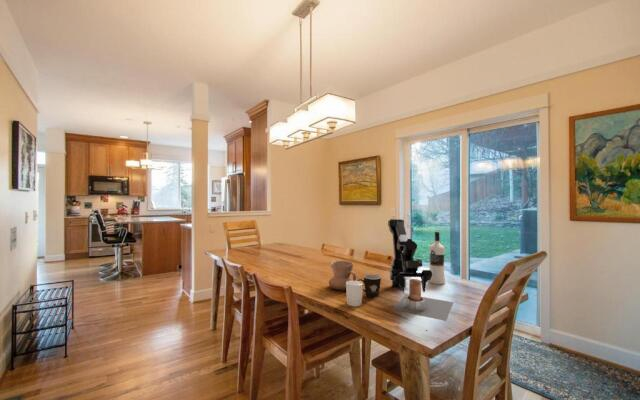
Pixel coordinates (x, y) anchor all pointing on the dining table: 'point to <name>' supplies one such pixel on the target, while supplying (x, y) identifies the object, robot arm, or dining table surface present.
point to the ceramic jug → (341, 274)
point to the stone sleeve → (415, 304)
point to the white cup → (354, 293)
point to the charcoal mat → (428, 308)
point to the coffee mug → (371, 285)
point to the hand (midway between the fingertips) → (413, 291)
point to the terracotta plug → (415, 289)
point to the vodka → (437, 261)
